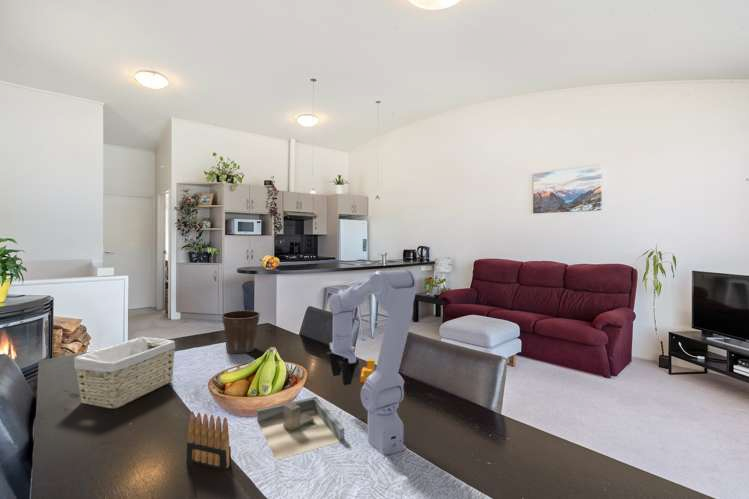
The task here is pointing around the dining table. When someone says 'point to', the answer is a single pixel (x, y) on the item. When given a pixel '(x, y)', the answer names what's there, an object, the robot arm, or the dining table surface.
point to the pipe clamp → (368, 370)
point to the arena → (303, 439)
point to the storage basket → (124, 371)
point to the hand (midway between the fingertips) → (341, 379)
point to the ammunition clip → (208, 442)
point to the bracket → (295, 417)
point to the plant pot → (240, 330)
